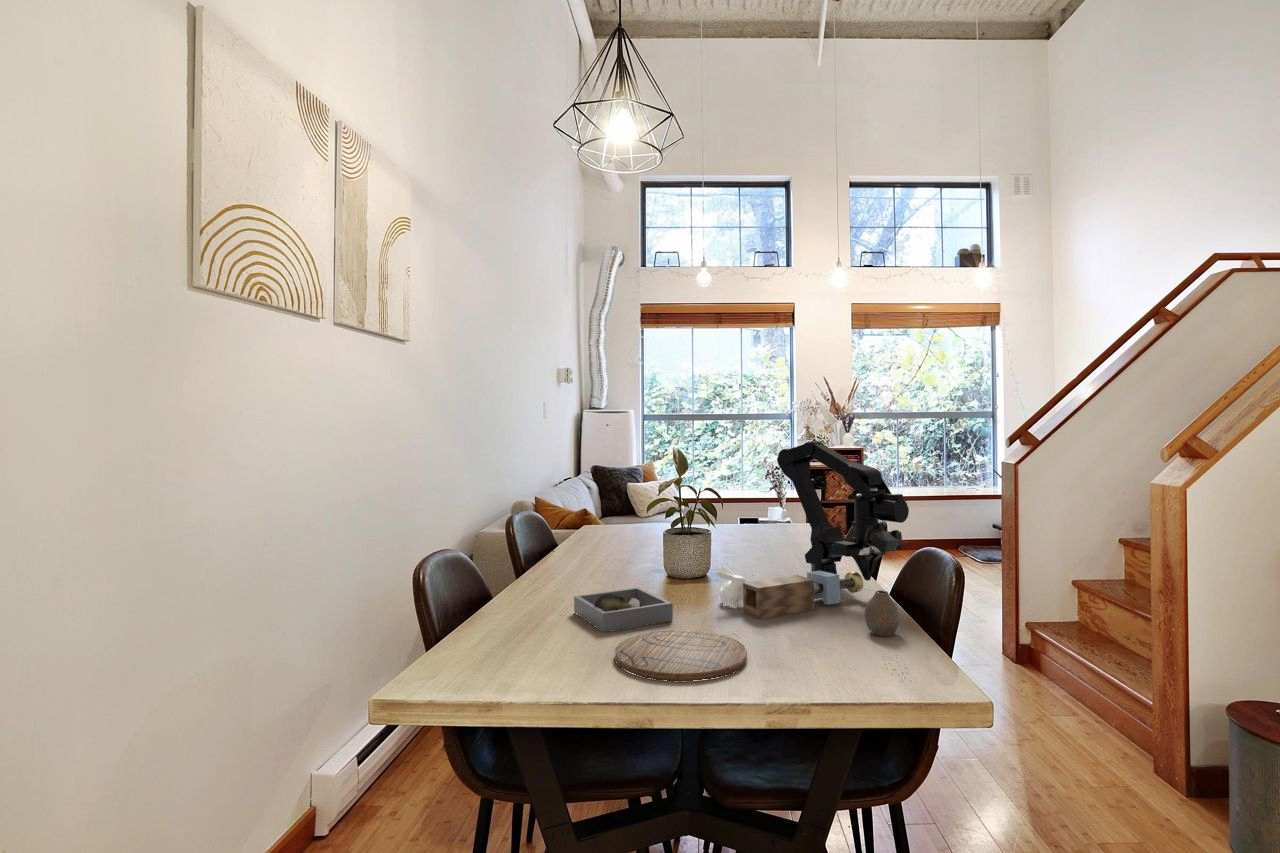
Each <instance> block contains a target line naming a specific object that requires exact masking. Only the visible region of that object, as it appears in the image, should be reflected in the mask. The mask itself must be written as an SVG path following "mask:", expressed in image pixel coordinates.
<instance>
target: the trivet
mask: <svg viewBox="0 0 1280 853" xmlns="http://www.w3.org/2000/svg"><path fill="white" fill-rule="evenodd" d="M614 652H615V654H614V655H615V658H614V660H615V661H616V662H617V664H618V665H619V666H620V667H621V668H623V669H625V670H627V671H629V672H631V673H634V674H636V675H639V676H642V677H645V678H651V679H652V678H653V679H656V680H667V681H693V680H702V679H711V678H716V677H721V676H725V675H729V674H731V675H733V674H734V673H733V672H735V671H737V672H739V671H741V670H742V669H743V668H742V667H743V666H744V665H745V664H746V665H747V661H748V660H747V659H748V655H747V653H748V650H747V649H746V647H745V645H744V643H742V642H740V641H739V640H737V639H736V638H733V637H731V636H727V635H725V634H720V633H717V632H712V631H705V630H699V629H663V630H655V631H653V630H652V631H648V632H644V633H638V634H636V635H633V636H630V637H627V638H626V639H624V640H622V641H620V642H619V643H618V644H617V645H616V647H615V648H614ZM616 662H615V663H616ZM617 664H616V665H617ZM618 665H617V666H618ZM746 665H745V666H746ZM619 666H618V667H619ZM745 666H744V667H745ZM620 667H619V668H620ZM621 668H620V669H621ZM741 668H742V669H741ZM738 670H739V671H738ZM732 673H733V674H732ZM735 673H736V672H735ZM729 676H730V675H729ZM725 677H726V676H725ZM645 678H644V679H645ZM651 679H650V680H651ZM656 680H655V681H656Z"/></svg>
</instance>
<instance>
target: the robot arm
mask: <svg viewBox="0 0 1280 853" xmlns="http://www.w3.org/2000/svg"><path fill="white" fill-rule="evenodd" d="M776 460H777V461H776V462H777V464H778V466H779V468H780V470H781V471H782V473H783V474H784V476H786V477H787V478H788V479H789V480H790V481H791V482H792V484H793V486H794V489H795V491H796V493H797V495H798V499H799V501H800V504H801V506H802V508H803V511H804V514H805V517H806V519H807V520H808V524H809V525H810V528H811V532H810V539H809V540H810V544H811V547H810V548H809V550H808V551H807V552H806V553H805V554H804V559H805V562H806V563H805V564H810V568H811V570H810V572H813V571H824V572H828V573H833V574H837V575H838V570H837V564H836V563H837V562H838V563H839V562H841V561H842V558H843V557H847V558H848V557H849V558H850V557H852V559H853V560H854V561H855V564H856V565H857V567H858V569H859V571H860V574H861V576H862V577H863V579H864V580H865V581H871V578H872V576H873V573H874V569H875V568H876V564H877V562H878V560H879V559H881V557H882V556H885V555H886V553H889V552H896V551H901V550H902V542H903V541H902V539H903V537H902V532H901V531H900V530H898V529H894V530H891V531H887V530H884V524H883V522H879V521H884V522H885V521H886V522H891V523H900V524H903V523H904V522H906V521H907V519H908V517H909V513H910V512H909V511H910V510H909V509H910V508H909V506H908V503H907V501H906V500H905V499H904V495H903V494H900V493H897V494H896V493H895V494H893V493H892V492H891V491H890V488H889V487H888V486H887V484H886V482H885V481H884V479H883V477H882V473H881V471H880V470H879V469H877V468H875V467H873V466H869V465H865V464H861V463H857V462H855V461H852V460H850V459H849V458H848V457H846V456H844V455H842V454H841V453H838V451H835V449H832V448H831V447H829V446H827V445H825V444H824V443H823V442H822V441H819V440H815V441H814V440H812V441H809V440H808V441H807V442H805V443H803V444H800V445H797V446H794V447H792V448H783V449H781V450H780V451H779V453H778V455H777V457H776ZM814 460H816V461H817V462H819V463H821V465H824V466H825V467H827V468H829V469H830V470H832V471H833V472H835V473H836V474H838V475H840V476H841V477H842V478H843V479H844V482H845V484H847V485H848V486H849V487H850V488H851V489H852V492H851V493H849V495H847V497H846V498H847V500H853V501H854V521H851V523H850V525H851V527H854V537H851V539H850V540H851V541H846V540H847V539H846V538H845V536H844V535H843V531H842V529H841V527H840V526H839V525H838V526H833V525H832V524H831V523H830V521H829V519H828V517H827V515H826V512H825V509H824V507H823V505H822V503H821V500H820V497H819V495H818V493H817V490H816V488H815V486H814V484H813V481H812V479H811V475H810V473H811V462H812V461H814Z"/></svg>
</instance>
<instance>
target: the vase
mask: <svg viewBox="0 0 1280 853" xmlns="http://www.w3.org/2000/svg"><path fill="white" fill-rule="evenodd" d="M864 610H865V611H864V620H865V621H864V622H865V626H866V627H867V629H868V630H869V631H870V633H872V634H873V635H874V636H878V637H891V636H893V635H894V634H895V633H896V632H897V630H898V628H899V626H900V621H901V620H900V619H901V618H900V617H901V614H900V611H899V607H898V606H897V604H896V603H895V601H894V600H893V599H892V598H891V596H890V593H889V592H888V591H886V590H883V589H882V590H876V591H875V592H874V595H873V596H872V597H871V598H870V600H869V601H868V602H867V604H866V607H865V609H864Z"/></svg>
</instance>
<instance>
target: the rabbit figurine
mask: <svg viewBox="0 0 1280 853" xmlns="http://www.w3.org/2000/svg"><path fill="white" fill-rule="evenodd" d="M716 574H717V576H718V577H719V578H721V579H723V580H726V582H725V584H723V585H722V587H721V588H720V589H719V593H718V594H719V599H720V601H721V604H722V603H723V604H722V605H723V607H724V606H730V607H729V608H731V607H732V608H731V609H738V608H743V583H745V582H748V581H747V580H746V578H745V577H744V576H742V575H736V574H734V570H731V569H730V568H728V567H727V566H726V565H723V566H722V567H721V570H717V572H716ZM737 607H738V608H737Z"/></svg>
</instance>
